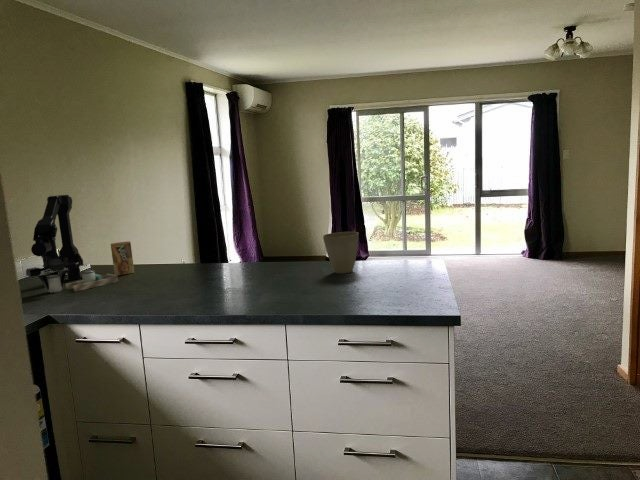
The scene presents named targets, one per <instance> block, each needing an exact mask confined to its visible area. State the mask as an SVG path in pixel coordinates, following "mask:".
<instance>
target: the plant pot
mask: <svg viewBox="0 0 640 480" xmlns="http://www.w3.org/2000/svg"><path fill="white" fill-rule="evenodd" d="M322 238H323V242H324V243H323V244H324V246H325V250H326V254H327V257H328V259H329V262H330V264H331V267H332V269H333V271H334V273H335V274H349V273H352V272H353V271H354V267H355V263H356V259H357V255H358V249H359V248H358V247H359V246H358V245H359V232H357V231H341V232H340V231H339V232H331V233H326V234H323V235H322Z"/></svg>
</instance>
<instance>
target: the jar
mask: <svg viewBox="0 0 640 480" xmlns="http://www.w3.org/2000/svg"><path fill="white" fill-rule="evenodd" d="M47 282H48V286H49V290H47V292H48V293H49V292H50V294H51V293H53V292H54V293H59V292H61V291H63V289H62V287H63V286H62V287H61V280H60V276H59V275H58V274H53V275H47Z"/></svg>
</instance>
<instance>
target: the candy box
mask: <svg viewBox="0 0 640 480" xmlns="http://www.w3.org/2000/svg"><path fill="white" fill-rule="evenodd" d="M110 250H111V258H112V265H113V272H114V275H117V276H120V275H121V276H122V275H127V274H128V275H129V274H135V266H134V258H133V251H132V243H131V241H130V240H127V241H118V242H111V243H110Z"/></svg>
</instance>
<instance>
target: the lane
mask: <svg viewBox="0 0 640 480" xmlns="http://www.w3.org/2000/svg"><path fill="white" fill-rule="evenodd" d="M118 282H119V277H118V275H115V274H113V273H112V274H111V273H105V275H102V280H98V281H93V282H89V283H84V284H83V279H82V280H77V281H73V282H72V281H71V282H69V283H65V290H71V289H73V292H80V291H84V290H89V289H92V288H97V287H98V288H99V287H101V286H102V287H103V286H107V285H111V284H114V283H115V284H116V283H118Z"/></svg>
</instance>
